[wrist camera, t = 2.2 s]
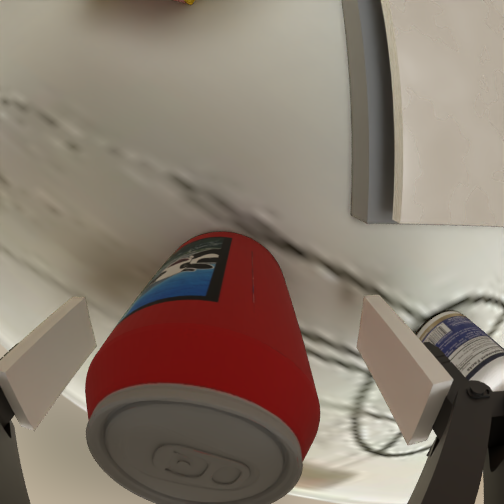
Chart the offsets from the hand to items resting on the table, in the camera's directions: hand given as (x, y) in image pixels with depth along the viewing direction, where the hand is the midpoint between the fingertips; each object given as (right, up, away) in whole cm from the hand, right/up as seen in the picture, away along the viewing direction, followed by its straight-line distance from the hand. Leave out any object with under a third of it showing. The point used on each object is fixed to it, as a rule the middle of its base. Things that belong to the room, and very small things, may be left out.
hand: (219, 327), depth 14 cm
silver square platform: (+15, +12, -2) cm, 19 cm away
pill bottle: (+15, -3, +6) cm, 16 cm away
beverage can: (0, +1, +4) cm, 4 cm away
